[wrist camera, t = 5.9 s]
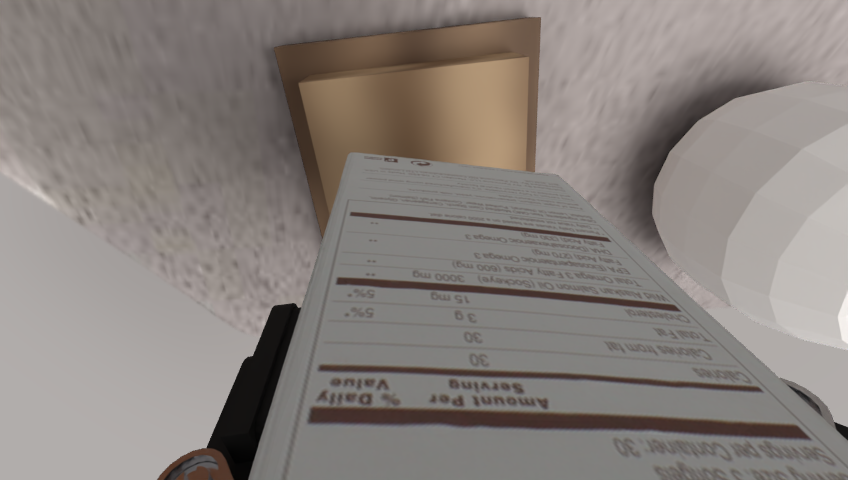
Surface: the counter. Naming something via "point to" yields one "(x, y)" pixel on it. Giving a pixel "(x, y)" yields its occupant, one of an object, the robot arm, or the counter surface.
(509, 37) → the plinth
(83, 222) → the counter surface
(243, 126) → the counter surface
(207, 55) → the counter surface
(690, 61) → the counter surface
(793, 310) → the white vase
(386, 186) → the supplement box
